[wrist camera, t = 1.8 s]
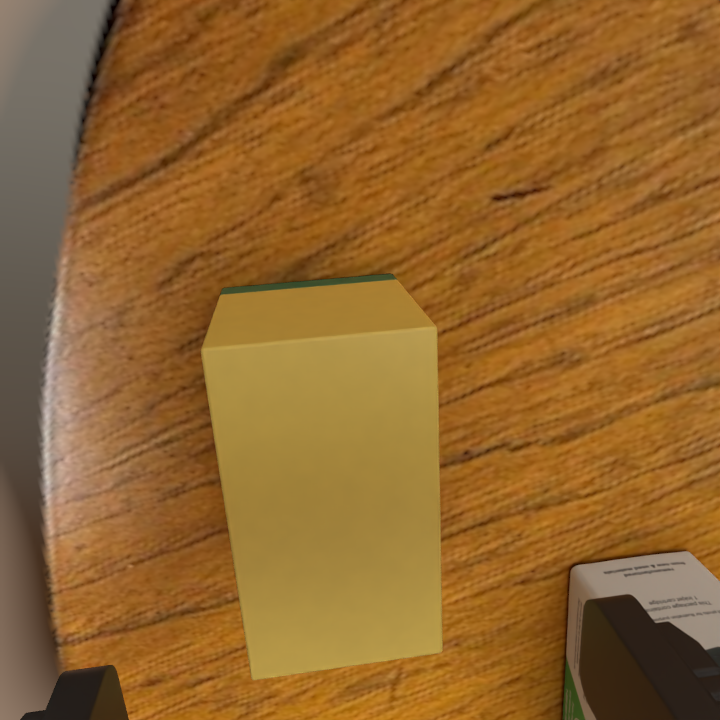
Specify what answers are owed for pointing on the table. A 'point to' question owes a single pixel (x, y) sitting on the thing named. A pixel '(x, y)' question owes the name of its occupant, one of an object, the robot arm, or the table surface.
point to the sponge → (329, 470)
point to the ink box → (657, 596)
